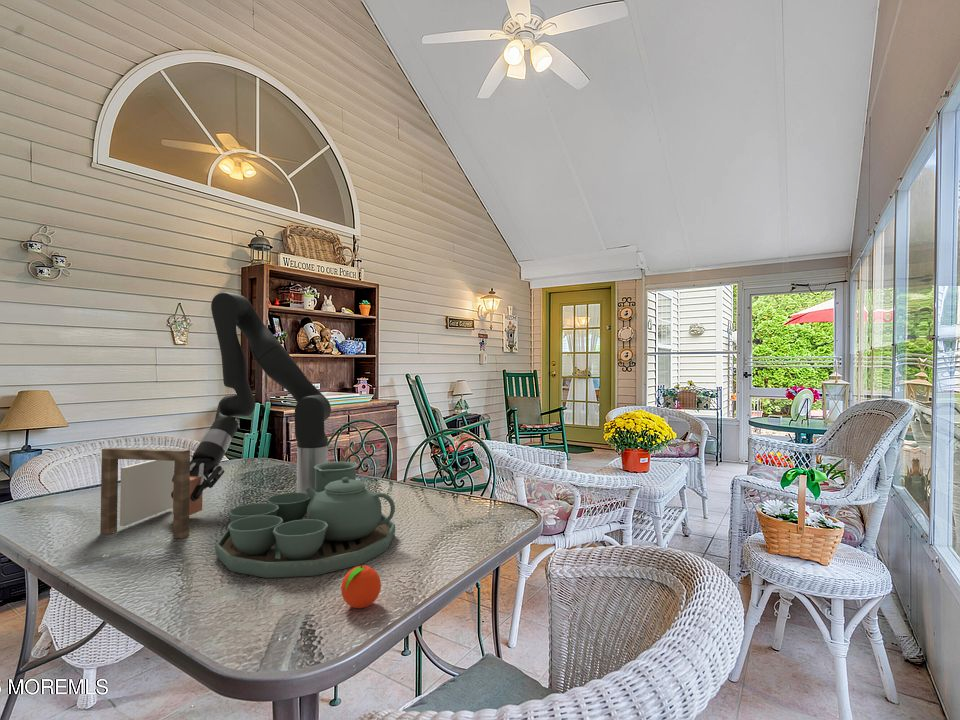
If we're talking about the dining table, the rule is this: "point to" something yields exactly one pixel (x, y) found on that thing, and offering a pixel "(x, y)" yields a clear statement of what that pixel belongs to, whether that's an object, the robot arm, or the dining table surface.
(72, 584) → the dining table surface
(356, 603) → the clementine
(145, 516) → the door
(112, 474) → the door frame
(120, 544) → the dining table surface
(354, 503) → the tea set
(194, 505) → the salmon orange block
